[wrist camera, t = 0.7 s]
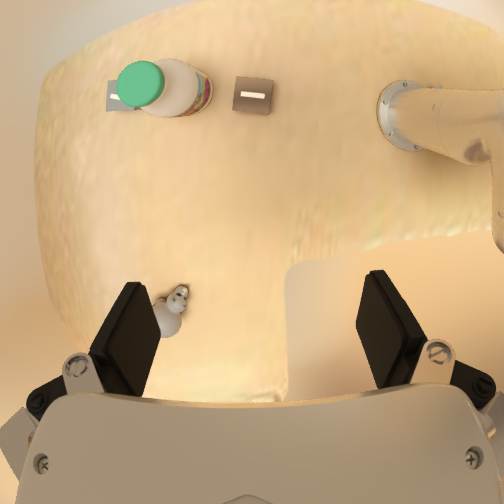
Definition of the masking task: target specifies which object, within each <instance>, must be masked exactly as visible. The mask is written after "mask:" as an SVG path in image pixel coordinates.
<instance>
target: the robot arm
mask: <svg viewBox="0 0 504 504" xmlns="http://www.w3.org/2000/svg"><path fill="white" fill-rule="evenodd" d="M403 84H404V86H403ZM382 101H383V102H384V103H382ZM377 116H378V122H379V125H380V128H381V130H382V132H383V133H384V135H385V136H386V138H387V139H388V140H389V141H390V142H391V143H392V144H393V145H395V146H396V147H398V148H400V149H403V150H406V151H419V150H422V149H424V148H426V149H429V150H431V151H434V152H437V153H439V154H442V155H444V156H447V157H449V158H452V159H454V160H457V161H459V162H462V163H464V164H467V165H472V166H478V165H483V164H486V163H488V162H490V161H491V172H492V235H493V239H494V241H495V244H496V245H497V247H498V248H499V250H500V251H501V252H502V253H503V254H504V90H491V91H477V90H455V89H442V86H441V85H440V84H439V83H437V84H435V85H434V86H433V88H424V87H423V86H421V85H419V84H418V83H415V82H412V81H407V80H403V81H396V82H393V83H391V84H390V85H388V86H387V87H386V88H385V89H384V90H383V92H382V93H381V95H380V97H379V100H378V105H377ZM389 133H390V135H389ZM356 329H357V332H358V335H359V337H360V340H361V343H362V345H363V348H364V351H365V354H366V356H367V359H368V362H369V365H370V368H371V371H372V374H373V377H374V380H375V383H376V385H377V388H378V390H372V391H366V392H360V393H354V394H348V395H341V396H334V397H326V398H318V399H309V400H298V401H284V402H265V403H204V402H185V401H172V400H161V399H152V398H143V397H142V395H143V392H144V388H145V385H146V382H147V379H148V375H149V372H150V369H151V366H152V362H153V359H154V356H155V353H156V350H157V347H158V344H159V341H160V338H161V330H160V327H159V324H158V322H157V319H156V316H155V313H154V311H153V308H152V305H151V302H150V299H149V296H148V293H147V290H146V287H145V286H144V285H142V284H141V283H140V282H127V283H126V285H125V286H124V288H123V290H122V291H121V293H120V295H119V296H118V298H117V300H116V301H115V303H114V305H113V307H112V308H111V310H110V312H109V314H108V315H107V317H106V319H105V321H104V323H103V324H102V326H101V328H100V330H99V332H98V334H97V335H96V337H95V339H94V341H93V343H92V345H91V347H90V351H89V353H88V354H86V353H76V354H73V355H72V356H70V357H69V358H68V359H67V360H66V361H65V362H64V364H63V367H62V374H63V375H61V376H59V377H57V378H55V379H53V380H52V381H50V382H48V383H46V384H44V385H42V386H41V387H39V388H37V389H35V390H33V391H32V392H31V393H30V394H29V396H28V398H27V402H26V408H24V407H22V408H21V409H20V410H19V411H18V412H17V413H16V414H14V415H13V416H12V417H11V418H10V419H9V420H8V421H7V422H6V423H5V424H4V425H3V426H2V427H1V428H0V448H1V450H2V452H3V454H4V456H5V458H6V459H7V461H8V463H9V465H10V467H11V468H12V470H13V472H14V474H15V475H16V477H17V478H18V480H19V486H18V491H17V496H16V502H15V504H504V494H503V489H502V483H501V477H502V476H503V474H504V393H502V392H501V391H499V392H498V393H497V392H496V385H495V382H494V380H493V379H492V378H491V376H489V375H488V374H486V373H484V372H482V371H480V370H477V369H475V368H473V367H470V366H468V365H466V364H464V363H461V362H459V361H457V360H455V351H454V349H453V348H452V346H451V345H450V344H449V343H447V342H446V341H444V340H440V339H432V340H429V341H428V339H427V337H426V335H425V334H424V332H423V330H422V329H421V327H420V325H419V323H418V322H417V320H416V318H415V317H414V315H413V313H412V312H411V310H410V308H409V307H408V305H407V303H406V302H405V300H404V299H403V298H402V297H401V295H400V294H399V292H398V290H397V289H396V287H395V286H394V284H393V283H392V282H391V280H390V278H389V277H388V275H387V274H386V272H385V271H384V270H374V271H370V273H369V274H367V275H366V277H365V282H364V287H363V292H362V297H361V301H360V306H359V310H358V315H357V319H356Z"/></svg>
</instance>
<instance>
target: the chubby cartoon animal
mask: <svg viewBox="0 0 504 504" xmlns="http://www.w3.org/2000/svg"><path fill="white" fill-rule="evenodd" d="M187 295H188V290H187V289H186V287H184V286H178V287H177V288H176V289H175V291H174V292H173V293H171V294H170V295H169V296H168V297H167V302H166V300H165V299H163V298H159V299H157V300H156V302H155V305H154V306H153V307H152V308H153V311H154V313H155V316H156V319H157V322H158V324H159V327H160V330H161V337H162V338H168V337H171V336H173V335H175V334H176V333H177V332H178V331H179V329H180V327H181V323H182V319H181V315H180V312H182V311H184V310H186V307H187V300H186V298H187Z"/></svg>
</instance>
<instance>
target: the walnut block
mask: <svg viewBox="0 0 504 504" xmlns="http://www.w3.org/2000/svg"><path fill="white" fill-rule="evenodd" d="M272 88H273V80H266V79H258V78H249V77H238V76H236V84H235V92H234V100H233V108H232V110H235V111H246V112H255V113H263V114H269V110H270V102H271V95H272Z"/></svg>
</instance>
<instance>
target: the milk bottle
mask: <svg viewBox="0 0 504 504" xmlns="http://www.w3.org/2000/svg"><path fill="white" fill-rule="evenodd" d="M116 91H117V95H118V97H119V99H120V100H121V101H122V102H123V103H124V104H126V105H128V106H130V107H140V108H141V109H142V110H143V111H145V112H146V113H148V114H150V115H152V116H156V117H161V118H171V117H180V116H188V115H193V114H196V113H198V112H200V111H202V110H203V109H204V108H205V107H206V106H207V105H208V104H209V102H210V100H211V98H212V94H213V87H212V83H211V81H210V79H209V78H208V77H207V76H206V75H205V74H204V73H203V72H201V71H200V70H198V69H196V68H195V67H193V66H191V65H189V64H187V63H185V62H183V61H180V60H176V59H162V60H158V61H155V62H153V63H152V62H148V61H138V62H134V63H132V64H130V65H128V66H127V67H126V68H125V69H124V70H123V71H122V72H121V74H120V75H119V77H118V80H117V84H116Z"/></svg>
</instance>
